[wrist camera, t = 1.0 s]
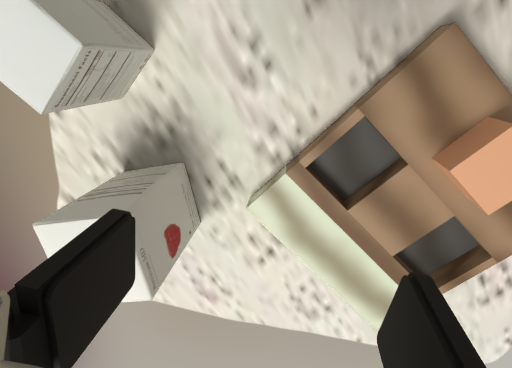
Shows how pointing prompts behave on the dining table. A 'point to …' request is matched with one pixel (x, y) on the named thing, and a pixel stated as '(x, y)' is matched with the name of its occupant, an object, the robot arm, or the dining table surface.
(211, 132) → the dining table surface
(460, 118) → the board
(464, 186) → the terracotta block
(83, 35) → the supplement box
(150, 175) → the supplement box
